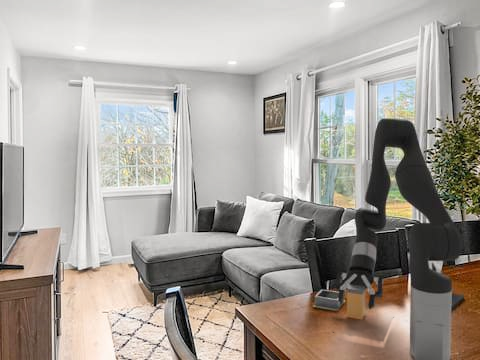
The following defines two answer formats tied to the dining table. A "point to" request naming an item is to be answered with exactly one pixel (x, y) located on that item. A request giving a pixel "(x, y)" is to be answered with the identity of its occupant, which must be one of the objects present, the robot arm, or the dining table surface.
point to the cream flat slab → (328, 308)
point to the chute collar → (327, 299)
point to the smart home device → (456, 300)
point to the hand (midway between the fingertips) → (355, 305)
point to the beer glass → (435, 265)
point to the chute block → (356, 301)
